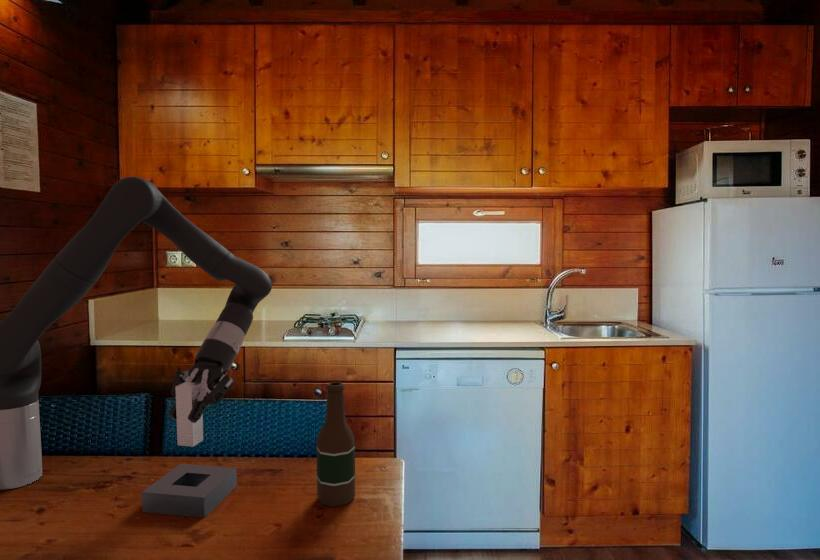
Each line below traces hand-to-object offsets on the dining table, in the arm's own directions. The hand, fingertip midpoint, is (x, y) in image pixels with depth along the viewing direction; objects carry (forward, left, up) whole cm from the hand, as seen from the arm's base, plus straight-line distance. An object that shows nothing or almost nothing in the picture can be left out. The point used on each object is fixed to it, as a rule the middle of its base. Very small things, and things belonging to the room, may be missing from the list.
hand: (182, 419), depth 106 cm
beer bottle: (+29, +7, -17) cm, 35 cm away
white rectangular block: (0, +2, -6) cm, 6 cm away
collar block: (0, +2, -17) cm, 17 cm away
